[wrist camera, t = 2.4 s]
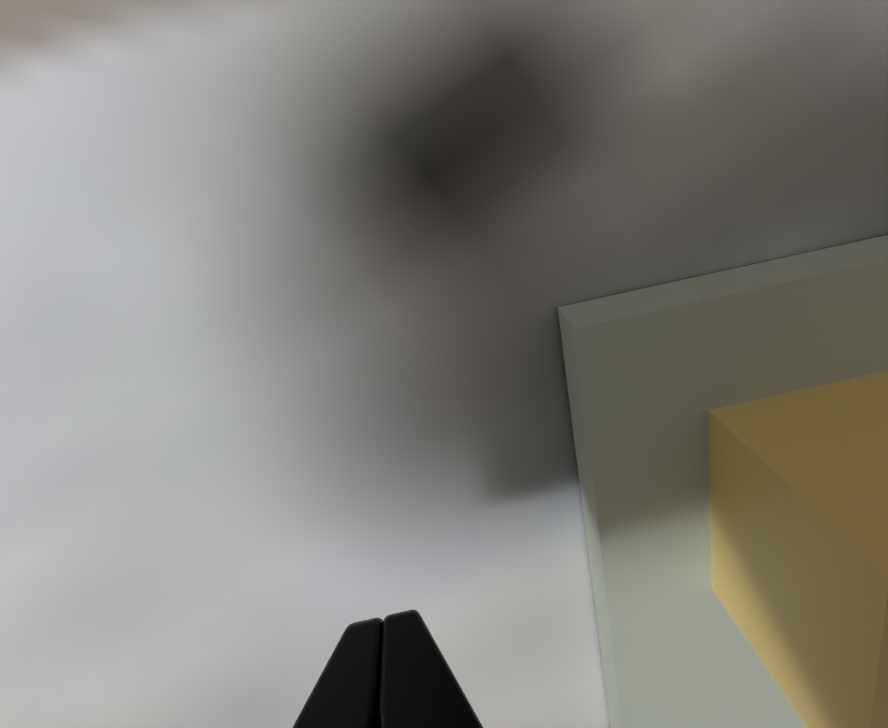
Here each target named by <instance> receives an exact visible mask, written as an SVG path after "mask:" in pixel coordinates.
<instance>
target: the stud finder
mask: <svg viewBox="0 0 888 728" xmlns="http://www.w3.org/2000/svg"><path fill="white" fill-rule="evenodd" d="M708 433H709V479H710V526H711V572H712V590H713V591H714V593H715V594H716V596H717V597H718V598H719V600H720V601H721V603H722V604H723V606H724V607H725V609H726V610H727V612H728V613H729V614H730V616H731V617H732V619H733V620H734V622H735V623H736V625H737V626H738V628H739V629H740V630H741V632H742V633H743V635H744V636H745V638H746V639H747V641H748V642H749V644H750V645H751V646H752V648H753V649H754V651H755V652H756V654H757V655H758V657H759V658H760V660H761V661H762V662H763V664H764V665H765V667H766V668H767V670H768V671H769V673H770V674H771V676H772V677H773V678H774V680H775V681H776V683H777V684H778V686H779V687H780V689H781V690H782V692H783V693H784V694H785V696H786V697H787V699H788V700H789V702H790V703H791V705H792V706H793V708H794V709H795V710H796V712H797V713H798V715H799V716H800V718H801V719H802V721H803V722H804V723H805V725H806V726H807V728H888V370H887V371H882V372H878V373H873V374H869V375H865V376H860V377H856V378H851V379H847V380H842V381H838V382H833V383H829V384H824V385H820V386H815V387H811V388H806V389H802V390H797V391H793V392H788V393H784V394H779V395H775V396H770V397H766V398H761V399H757V400H752V401H748V402H743V403H739V404H734V405H730V406H725V407H721V408H716V409H712V410H708Z"/></svg>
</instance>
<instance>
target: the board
mask: <svg viewBox="0 0 888 728" xmlns="http://www.w3.org/2000/svg"><path fill="white" fill-rule="evenodd" d="M557 308H558V316H559V324H560V332H561V340H562V348H563V356H564V364H565V372H566V380H567V387H568V395H569V403H570V411H571V419H572V427H573V435H574V443H575V451H576V459H577V467H578V475H579V483H580V491H581V499H582V507H583V515H584V523H585V531H586V539H587V547H588V555H589V563H590V571H591V579H592V587H593V595H594V603H595V611H596V619H597V627H598V635H599V643H600V651H601V659H602V667H603V675H604V683H605V691H606V699H607V707H608V715H609V723H610V728H807V726H806V725H805V723H804V722H803V721H802V719H801V718H800V716H799V715H798V713H797V712H796V710H795V709H794V708H793V706H792V705H791V703H790V702H789V700H788V699H787V697H786V696H785V694H784V693H783V692H782V690H781V689H780V687H779V686H778V684H777V683H776V681H775V680H774V678H773V677H772V676H771V674H770V673H769V671H768V670H767V668H766V667H765V665H764V664H763V662H762V661H761V660H760V658H759V657H758V655H757V654H756V652H755V651H754V649H753V648H752V646H751V645H750V644H749V642H748V641H747V639H746V638H745V636H744V635H743V633H742V632H741V630H740V629H739V628H738V626H737V625H736V623H735V622H734V620H733V619H732V617H731V616H730V614H729V613H728V612H727V610H726V609H725V607H724V606H723V604H722V603H721V601H720V600H719V598H718V597H717V596H716V594H715V593H714V591H713V590H712V572H711V526H710V479H709V433H708V410H712V409H716V408H721V407H725V406H730V405H734V404H739V403H743V402H748V401H752V400H757V399H761V398H766V397H770V396H775V395H779V394H784V393H788V392H793V391H797V390H802V389H806V388H811V387H815V386H820V385H824V384H829V383H833V382H838V381H842V380H847V379H851V378H856V377H860V376H865V375H869V374H873V373H878V372H882V371H887V370H888V235H884V236H880V237H875V238H871V239H866V240H861V241H857V242H852V243H848V244H843V245H839V246H834V247H830V248H825V249H820V250H816V251H811V252H807V253H802V254H798V255H793V256H788V257H784V258H779V259H775V260H770V261H766V262H761V263H757V264H752V265H747V266H743V267H738V268H734V269H729V270H725V271H720V272H715V273H711V274H706V275H702V276H697V277H693V278H688V279H684V280H679V281H674V282H670V283H665V284H661V285H656V286H652V287H647V288H642V289H638V290H633V291H629V292H624V293H620V294H615V295H611V296H606V297H601V298H597V299H592V300H588V301H583V302H579V303H574V304H569V305H565V306H560V307H557Z"/></svg>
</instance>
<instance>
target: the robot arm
mask: <svg viewBox="0 0 888 728" xmlns="http://www.w3.org/2000/svg"><path fill="white" fill-rule="evenodd" d="M293 728H483V726H482V725H481V723H480V721H479V719H478V717H477V716H476V714H475V712H474V710H473V709H472V707H471V705H470V703H469V701H468V700H467V698H466V696H465V694H464V692H463V691H462V689H461V687H460V685H459V684H458V682H457V680H456V678H455V676H454V675H453V673H452V671H451V669H450V667H449V666H448V664H447V662H446V660H445V659H444V657H443V655H442V653H441V651H440V650H439V648H438V646H437V644H436V642H435V641H434V639H433V637H432V635H431V633H430V632H429V630H428V628H427V626H426V625H425V623H424V621H423V619H422V617H421V616H420V614H419V613H418V612H417V611H416V610H409V611H404V612H400V613H395V614H391V615H388V616H386V617H385V619H384V621H383V620H382V619H380V618H373V619H369V620H364V621H360V622H355V623H352V624H350V625H349V626H348V627H347V628H346V630H345V631H344V633H343V635H342V637H341V639H340V641H339V642H338V644H337V646H336V648H335V650H334V652H333V653H332V655H331V657H330V659H329V661H328V663H327V665H326V666H325V668H324V670H323V672H322V674H321V676H320V678H319V679H318V681H317V683H316V685H315V687H314V689H313V691H312V692H311V694H310V696H309V698H308V700H307V702H306V704H305V705H304V707H303V709H302V711H301V713H300V715H299V717H298V718H297V720H296V722H295V724H294V726H293Z"/></svg>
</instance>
